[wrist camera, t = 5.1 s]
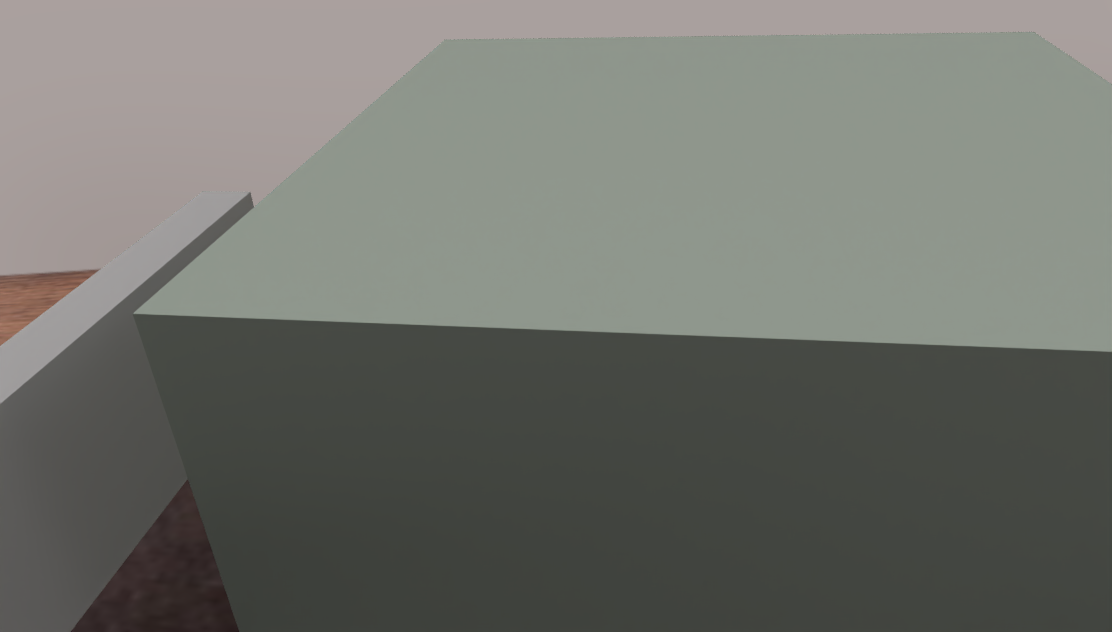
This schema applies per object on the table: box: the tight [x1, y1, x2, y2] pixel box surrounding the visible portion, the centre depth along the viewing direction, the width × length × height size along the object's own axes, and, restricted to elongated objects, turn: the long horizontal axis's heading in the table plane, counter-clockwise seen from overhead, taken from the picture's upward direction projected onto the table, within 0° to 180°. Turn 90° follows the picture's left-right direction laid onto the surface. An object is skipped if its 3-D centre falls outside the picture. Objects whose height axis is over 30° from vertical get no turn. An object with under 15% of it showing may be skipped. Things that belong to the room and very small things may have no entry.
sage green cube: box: [133, 32, 1112, 632], centre depth 12 cm, size 10×10×8 cm
